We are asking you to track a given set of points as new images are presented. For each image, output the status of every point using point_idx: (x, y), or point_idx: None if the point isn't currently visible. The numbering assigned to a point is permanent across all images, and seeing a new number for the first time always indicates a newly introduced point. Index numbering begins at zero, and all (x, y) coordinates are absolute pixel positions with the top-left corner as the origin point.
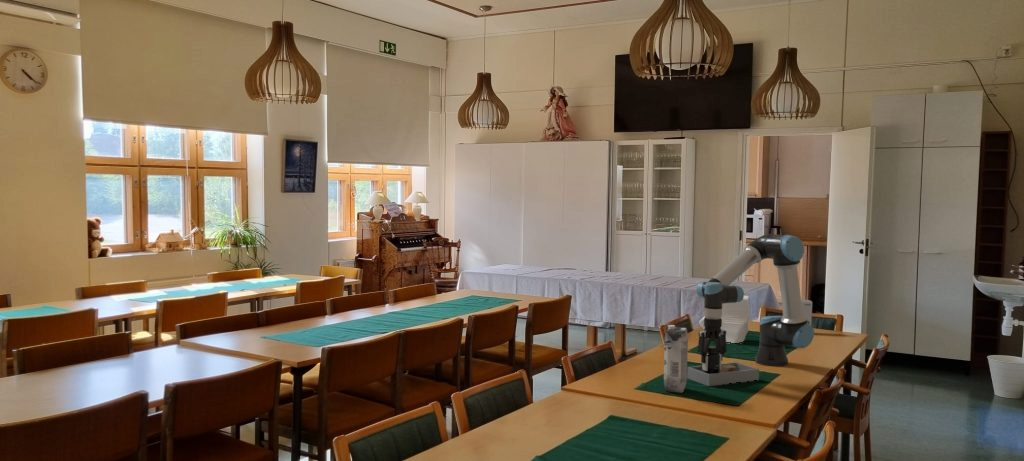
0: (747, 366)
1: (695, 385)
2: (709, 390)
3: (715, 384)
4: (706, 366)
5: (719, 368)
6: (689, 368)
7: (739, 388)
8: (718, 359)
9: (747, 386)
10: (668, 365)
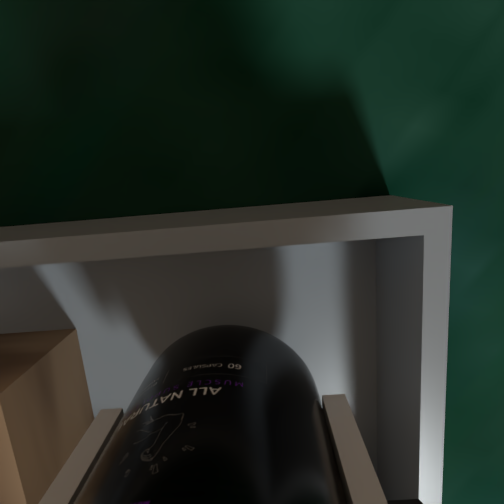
0: None
1: (492, 261)
2: (499, 45)
3: (309, 202)
4: (358, 438)
5: (148, 383)
6: None
7: (134, 20)
8: (139, 482)
9: (4, 70)
10: None
